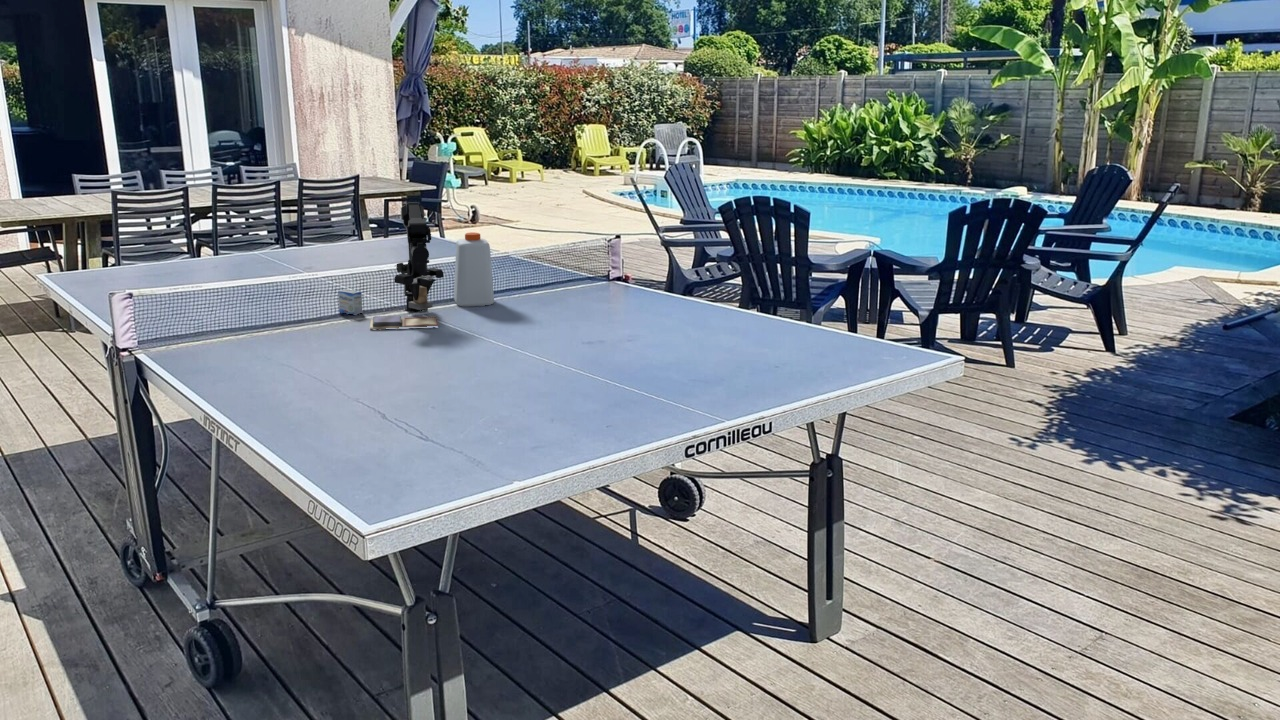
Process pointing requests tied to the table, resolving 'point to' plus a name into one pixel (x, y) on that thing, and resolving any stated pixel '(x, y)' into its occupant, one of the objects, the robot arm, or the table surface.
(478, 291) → the plastic bottle
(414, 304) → the stamp
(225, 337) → the table surface
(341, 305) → the medicine box
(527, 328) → the table surface
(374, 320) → the board
